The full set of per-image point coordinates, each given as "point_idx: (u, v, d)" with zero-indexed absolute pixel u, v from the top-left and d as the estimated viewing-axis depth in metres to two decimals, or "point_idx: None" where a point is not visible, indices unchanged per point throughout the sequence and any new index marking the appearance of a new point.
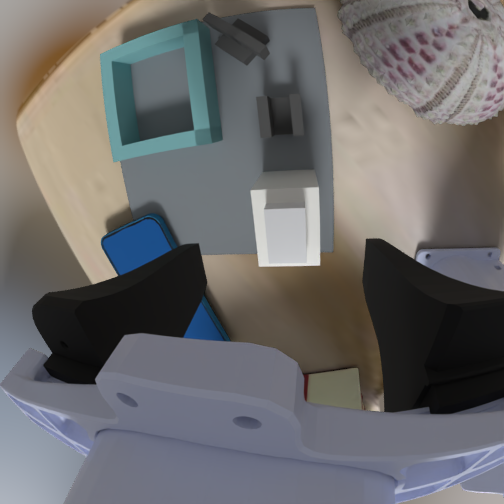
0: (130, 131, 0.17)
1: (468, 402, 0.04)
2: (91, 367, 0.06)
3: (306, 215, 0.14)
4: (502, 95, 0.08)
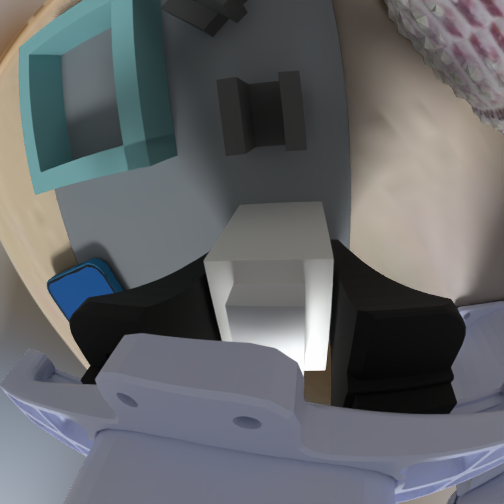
0: (55, 149, 0.11)
1: None
2: None
3: (307, 305, 0.08)
4: None
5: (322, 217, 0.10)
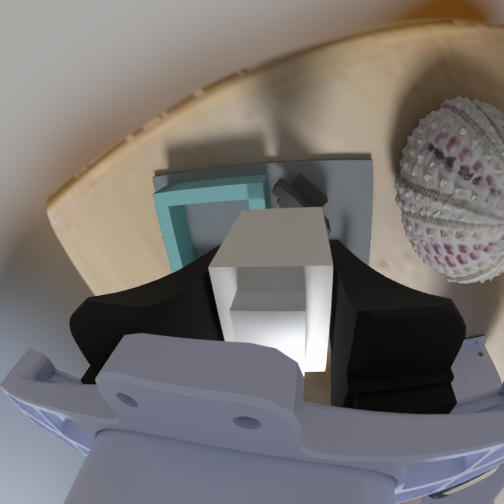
0: None
1: None
2: None
3: (307, 309, 0.08)
4: None
5: (322, 223, 0.10)
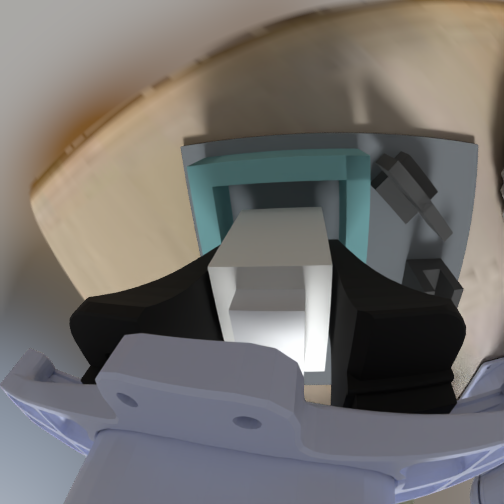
0: None
1: None
2: None
3: (307, 309, 0.08)
4: None
5: (322, 223, 0.10)
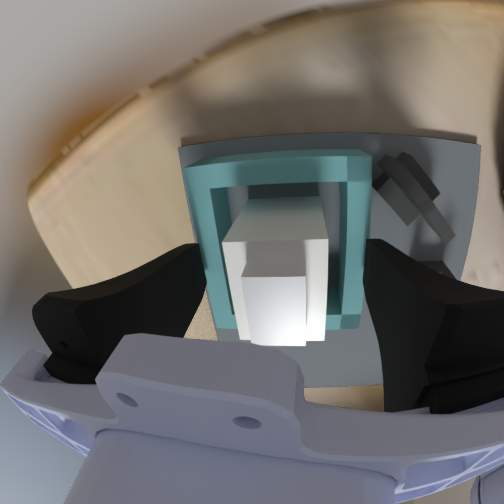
0: None
1: (468, 402, 0.04)
2: (91, 367, 0.06)
3: (307, 279, 0.10)
4: None
5: (319, 208, 0.11)
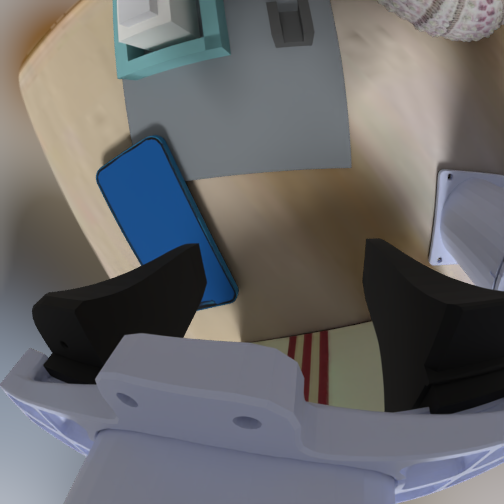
0: (137, 52, 0.15)
1: (468, 402, 0.04)
2: (91, 367, 0.06)
3: None
4: (493, 8, 0.06)
5: None
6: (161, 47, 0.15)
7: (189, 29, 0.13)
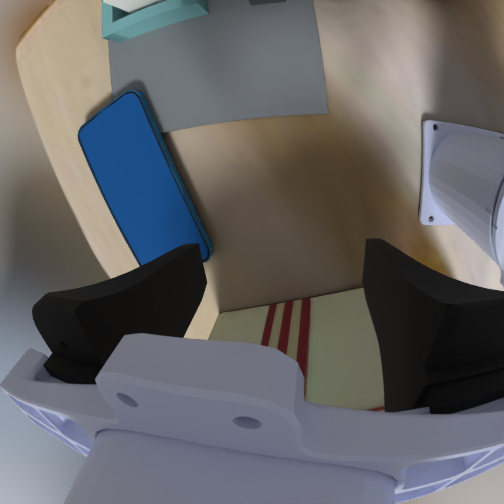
0: (122, 16, 0.13)
1: (468, 402, 0.04)
2: (91, 367, 0.06)
3: None
4: None
5: None
6: None
7: None
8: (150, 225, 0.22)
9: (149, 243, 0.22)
